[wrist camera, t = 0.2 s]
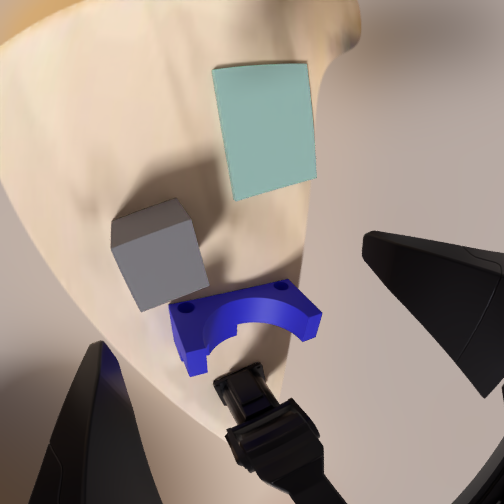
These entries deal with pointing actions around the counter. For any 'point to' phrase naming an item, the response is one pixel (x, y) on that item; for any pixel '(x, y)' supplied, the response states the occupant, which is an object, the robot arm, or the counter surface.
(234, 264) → the counter surface
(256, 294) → the blue arched bracket
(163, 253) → the gray cube block
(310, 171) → the teal board
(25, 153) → the counter surface
